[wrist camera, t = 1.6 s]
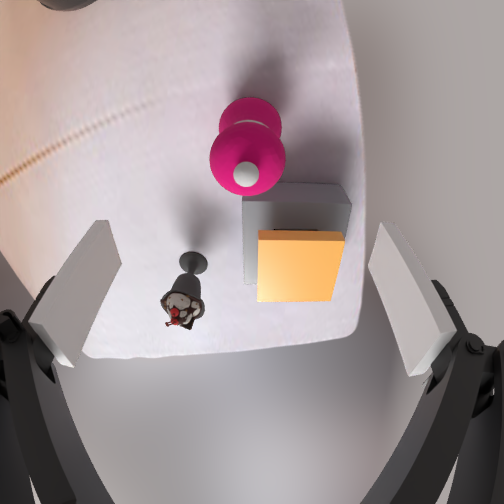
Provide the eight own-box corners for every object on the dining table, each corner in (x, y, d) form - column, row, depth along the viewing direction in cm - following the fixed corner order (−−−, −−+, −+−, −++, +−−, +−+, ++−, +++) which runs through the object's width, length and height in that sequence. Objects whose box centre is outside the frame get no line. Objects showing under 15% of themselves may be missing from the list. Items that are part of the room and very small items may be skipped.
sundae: (180, 242, 47) (157, 311, 35) (217, 256, 48) (206, 328, 37) (170, 269, 50) (148, 337, 38) (204, 282, 52) (192, 351, 40)
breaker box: (243, 181, 40) (242, 201, 35) (340, 184, 40) (352, 204, 35) (245, 259, 49) (243, 284, 44) (327, 259, 49) (334, 284, 44)
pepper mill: (244, 83, 32) (231, 104, 16) (290, 115, 34) (322, 170, 18) (212, 126, 35) (173, 191, 19) (256, 155, 38) (257, 241, 22)
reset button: (258, 209, 38) (258, 240, 32) (332, 210, 38) (345, 241, 32) (257, 267, 44) (257, 301, 38) (322, 267, 44) (330, 300, 38)
